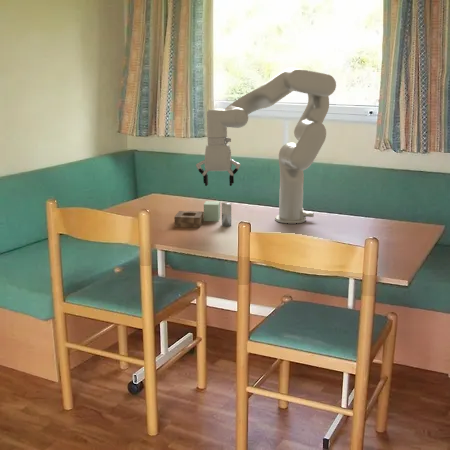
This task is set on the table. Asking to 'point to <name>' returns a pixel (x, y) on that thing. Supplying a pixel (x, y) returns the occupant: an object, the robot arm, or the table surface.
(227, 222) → the metal peg
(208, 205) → the green block
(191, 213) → the socket block
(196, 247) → the table surface
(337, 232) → the table surface
